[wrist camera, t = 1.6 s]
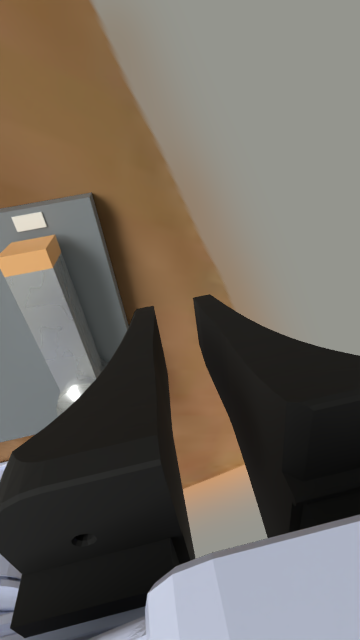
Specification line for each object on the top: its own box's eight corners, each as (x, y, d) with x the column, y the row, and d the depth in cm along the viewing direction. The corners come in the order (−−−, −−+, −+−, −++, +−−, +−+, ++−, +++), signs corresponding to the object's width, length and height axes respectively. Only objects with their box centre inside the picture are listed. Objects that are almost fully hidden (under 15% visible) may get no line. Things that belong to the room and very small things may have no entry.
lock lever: (120, 388, 24) (119, 421, 21) (73, 398, 23) (67, 433, 21) (66, 231, 17) (55, 249, 14) (1, 243, 17) (-22, 264, 14)
